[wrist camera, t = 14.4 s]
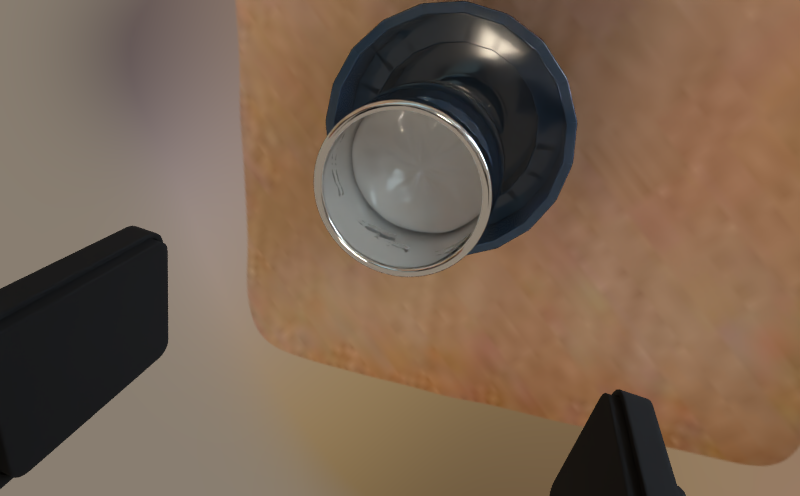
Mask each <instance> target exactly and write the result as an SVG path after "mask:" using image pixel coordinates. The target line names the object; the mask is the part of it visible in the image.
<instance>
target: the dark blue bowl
mask: <svg viewBox="0 0 800 496" xmlns="http://www.w3.org/2000/svg"><path fill="white" fill-rule="evenodd" d="M455 73H465V74H471V75H474V76H477V77H479V78H481V79H483V80H484V81H486V82H487V83H489V84H490V85H491V86H492V87H493V88H494V89H495V90H496V91H497V92H498V94H499V95H500V97H501V99H502V101H503V103H504V106H505V109H506V113H507V131H506V136H505V139H504V144H505V152H506V163H505V174H504V180H503V185H502V188H501V191H500V194H499V197H498V200H497V203H496V205H495V207H494V210H493V212H492V214H491V216H490V218H489V220H488V222H487V225H486V228H485V230H484V232H483V234H482V236H481V237H480V239H479V241H478V242H477V244H476V245H475V246H474V247H473V249H472V250H471V251H470V252H469V253H468V254H467V255H469V254H473V253H478V252H482V251H487V250H491V249H496V248H498V247H500V246H502V245H504V244H505V243H507V242H509V241H511V240H512V239H514V238H516V237H518V236H519V235H521V234H523V233H525V232H526V231H528V230H529V229H531V227H532V226H533V225H534V224H535V223H536V222H537V221H538V220H539V219H540V218H541V217H542V216H543V214H544V213H545V212H546V211H547V210H548V209H549V208H550V207H551V206H552V205H553V204H554V203H555V201H556V200H557V197H558V195H559V193H560V191H561V189H562V187H563V184H564V182H565V180H566V178H567V176H568V174H569V171H570V169H571V167H572V164H573V158H574V149H575V140H576V130H577V118H576V113H575V109H574V105H573V100H572V96H571V92H570V87H569V83H568V80H567V77H566V76H565V74H564V73H563V71H562V69H561V68H560V66H559V65H558V63H557V62H556V60H555V58H554V57H553V55H552V54H551V52H550V50H549V49H548V47H547V46H546V44H545V43H544V41H543V40H542V39H541V38H540V37H538V36H537V35H536V34H534V33H533V32H532V31H531V30H529V29H528V28H527V27H525V26H524V25H523V24H521V23H520V22H519V21H518V20H516V19H515V18H514V17H512V16H510V15H508V14H507V13H503V12H500V11H497V10H494V9H490V8H487V7H484V6H481V5H477V4H474V3H471V2H468V1H453V2H436V3H423V4H419V5H417V6H414V7H412V8H410V9H407V10H405V11H403V12H400V13H398V14H396V15H393V16H391V17H389V18H386V19H384V20H383V21H381V22H380V23H379V24H378V25H377V26H376V27H375V28H374V29H373V30H372V31H370V32H369V33H368V34H367V35H366V36H365V37H364V38H363V39H362V40H361V41H360V42H359V43H357V44H356V45H355V46H354V47H353V49H352V50H351V52H350V54H349V55H348V57H347V59H346V61H345V63H344V64H343V66H342V68H341V70H340V72H339V73H338V75H337V77H336V79H335V81H334V83H333V86H332V91H331V96H330V101H329V106H328V111H327V116H326V130H327V136H328V134H329V133H330V131H331V130H332V129H333V128H334V127H335V125H336V124H337V123H338V122H339V121H341V120H342V119H343V118H344V117H345V116H347V115H348V114H350V113H351V112H353V111H354V110H356V109H358V108H359V107H361V106H362V105H363V104H365V103H366V102H367V101H369V100H370V99H372V98H373V97H375V96H377V95H379V94H380V93H382V92H384V91H386V90H388V89H390V88H393V87H395V86H398V85H401V84H405V83H409V82H413V81H419V80H435V79H437V78H439V77H442V76H445V75H448V74H455Z"/></svg>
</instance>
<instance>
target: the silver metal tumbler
mask: <svg viewBox="0 0 800 496" xmlns="http://www.w3.org/2000/svg"><path fill="white" fill-rule="evenodd" d="M506 131H507V113H506V109H505V106H504V103H503V101H502V99H501V97H500V95H499V94H498V92H497V91H496V90H495V89H494V88H493V87H492V86H491V85H490V84H489V83H487V82H486V81H484V80H483V79H481V78H479V77H477V76H474V75H471V74H465V73H455V74H448V75H445V76H442V77H439V78H437V79H435V80H419V81H413V82H409V83H405V84H401V85H398V86H395V87H393V88H390V89H388V90H386V91H384V92H382V93H380V94H379V95H377V96H375V97H373V98H372V99H370V100H369V101H367V102H366V103H365V104H363V105H362V106H361V107H359V108H358V109H356V110H354V111H353V112H351V113H350V114H348V115H347V116H345V117H344V118H343V119H342V120H341V121H339V122H338V123H337V124H336V125H335V127H334V128H333V129H332V130H331V131H330V133H329V134H328V136H327V137H326V139H325V140H324V142H323V144H322V146H321V148H320V151H319V153H318V156H317V160H316V164H315V170H314V194H315V200H316V204H317V208H318V211H319V214H320V216H321V219H322V221H323V223H324V225H325V227H326V228H327V230H328V232H329V233H330V235H331V236H332V237H333V239H334V240H335V241H336V242H337V244H338V245H339V246H340V247H341V248H342V249H343V250H344V251H345V252H346V253H347V254H349V255H350V256H351V257H352V258H354V259H355V260H357V261H358V262H360V263H361V264H363V265H365V266H367V267H369V268H371V269H373V270H376V271H378V272H381V273H385V274H388V275H393V276H400V277H419V276H426V275H430V274H434V273H437V272H440V271H442V270H445V269H447V268H449V267H451V266H452V265H454V264H456V263H457V262H458V261H460V260H461V259H462V258H464V257H465V256H466V255H467V254H468V253H469V252H470V251H471V250H472V249H473V247H474V246H475V245H476V244H477V242H478V241H479V239H480V237H481V236H482V234H483V232H484V230H485V228H486V225H487V222H488V220H489V218H490V216H491V214H492V212H493V210H494V207H495V205H496V203H497V200H498V197H499V194H500V191H501V188H502V185H503V180H504V174H505V163H506V152H505V144H504V139H505V136H506Z"/></svg>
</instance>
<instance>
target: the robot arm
mask: <svg viewBox="0 0 800 496" xmlns="http://www.w3.org/2000/svg"><path fill="white" fill-rule="evenodd" d="M167 253H168V251H167V246H166V244H164V243H163V240H162V238H161V236H160V235H159V234H157V233H154V232H151V231H148V230H145V229H142V228H139V227H136V226H129V227H126V228H125V229H122V230H120V231H118V232H116V233H114V234H112V235H110V236H108V237H106V238H104V239H102V240H100V241H98V242H96V243H93V244H91V245H89V246H87V247H85V248H83V249H81V250H79V251H77V252H75V253H73V254H71V255H69V256H67V257H65V258H63V259H61V260H58V261H56V262H54V263H52V264H50V265H48V266H46V267H44V268H42V269H40V270H38V271H36V272H34V273H32V274H30V275H28V276H26V277H24V278H21V279H19V280H17V281H15V282H13V283H11V284H9V285H7V286H5V287H3V288H1V289H0V489H1V488H2V487H3V486H4V485H5V484H7V483H8V482H9V481H10V480H11V479H12V478H14V477H15V478H16V477H21V476H23V475H25V474H26V473H27V472H29V471H30V470H31V469H32V468H33V467H35V466H36V465H37V464H38V463H39V462H40V461H42V460H43V459H44V458H45V457H46V456H47V455H48V454H50V453H51V452H52V451H53V450H54V449H55V448H56V447H58V446H59V445H60V444H61V443H62V442H63V441H64V440H66V438H68V437H69V436H70V435H71V434H72V433H74V432H75V431H76V430H77V429H78V428H79V427H80V426H82V425H83V424H84V423H85V422H86V421H87V420H88V419H90V418H91V417H92V416H93V415H94V414H95V413H97V411H99V410H100V409H101V408H102V407H103V406H105V404H107V403H108V402H109V401H110V400H111V399H113V398H114V397H115V396H116V395H117V394H118V393H119V392H121V391H122V390H123V389H124V388H125V387H126V386H127V385H129V384H130V383H131V382H132V381H133V380H134V379H135V378H137V377H138V376H139V375H140V374H141V373H142V372H144V370H146V369H147V368H148V367H149V366H150V365H151V364H153V363H154V362H155V361H156V360H157V359H158V358H160V356H161V355H162V354H163V353H164V351H165V349H166V347H167V344H168V258H167V257H168V254H167ZM550 496H686V495H685V492H684V491H683V490H682V489H681V488H680V487H679V486H677V484H676V481H675V477H674V474H673V471H672V467H671V464H670V461H669V458H668V454H667V451H666V448H665V444H664V441H663V438H662V434H661V431H660V428H659V424H658V421H657V418H656V415H655V411H654V408H653V405H652V403H651V401H650V400H648V399H646V398H643V397H640V396H637V395H634V394H631V393H628V392H625V391H622V390H616V391H614V392H613V394H612V395H610V394H607V393H604V394H603V395H602V396H601V397H600V399H599V401H598V403H597V404H596V406H595V408H594V410H593V412H592V414H591V415H590V417H589V419H588V421H587V423H586V424H585V426H584V428H583V430H582V432H581V434H580V435H579V437H578V439H577V441H576V443H575V445H574V446H573V448H572V450H571V452H570V454H569V455H568V457H567V459H566V461H565V463H564V465H563V466H562V468H561V470H560V472H559V474H558V475H557V477H556V479H555V481H554V483H553V485H552V488H551V491H550Z"/></svg>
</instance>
